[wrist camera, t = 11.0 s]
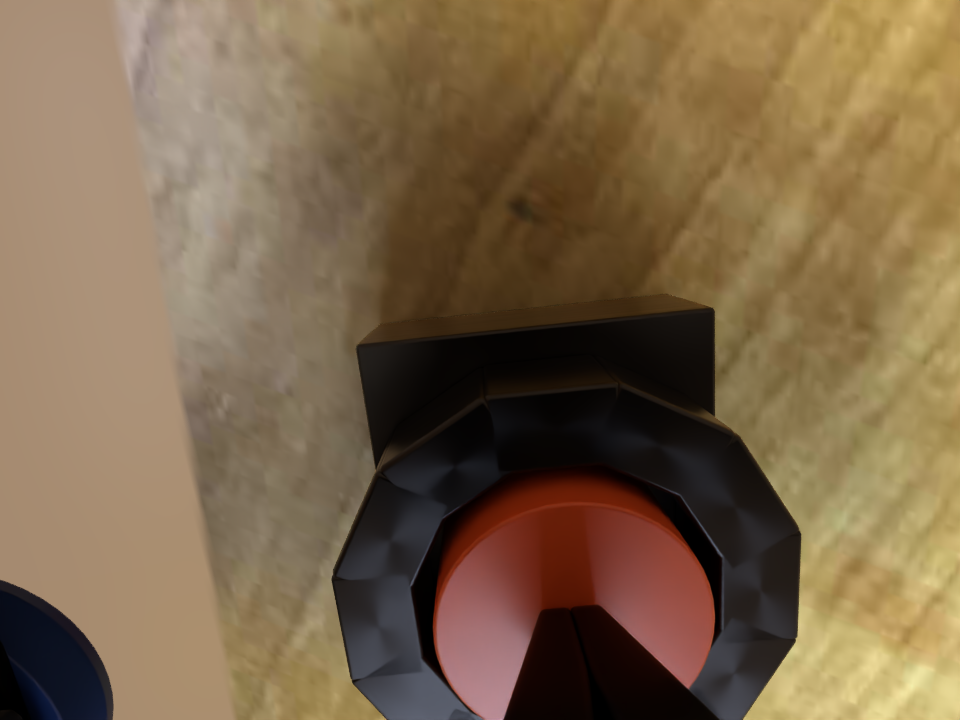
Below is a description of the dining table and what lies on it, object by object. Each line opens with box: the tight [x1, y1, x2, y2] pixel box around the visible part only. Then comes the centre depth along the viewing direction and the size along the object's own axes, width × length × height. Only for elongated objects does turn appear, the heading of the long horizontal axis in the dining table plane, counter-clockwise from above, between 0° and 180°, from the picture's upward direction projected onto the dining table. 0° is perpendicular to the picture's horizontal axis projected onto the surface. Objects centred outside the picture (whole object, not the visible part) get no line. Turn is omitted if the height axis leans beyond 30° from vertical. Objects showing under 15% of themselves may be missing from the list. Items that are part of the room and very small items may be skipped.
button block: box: [332, 294, 801, 720], centre depth 10 cm, size 7×8×4 cm
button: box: [433, 465, 715, 720], centre depth 8 cm, size 4×4×2 cm
